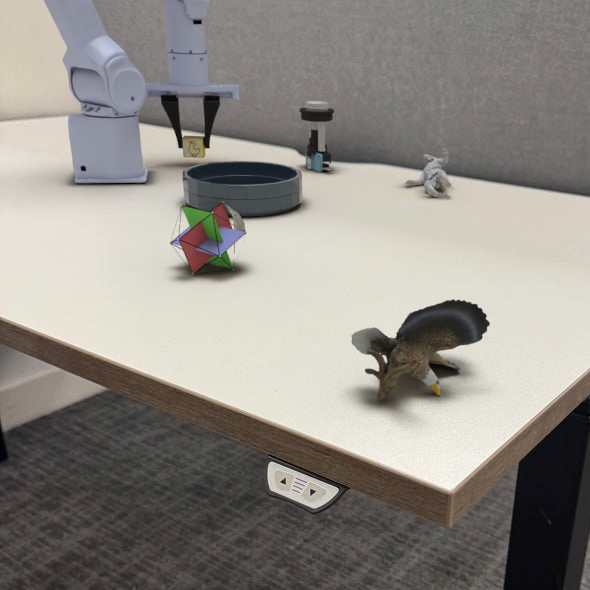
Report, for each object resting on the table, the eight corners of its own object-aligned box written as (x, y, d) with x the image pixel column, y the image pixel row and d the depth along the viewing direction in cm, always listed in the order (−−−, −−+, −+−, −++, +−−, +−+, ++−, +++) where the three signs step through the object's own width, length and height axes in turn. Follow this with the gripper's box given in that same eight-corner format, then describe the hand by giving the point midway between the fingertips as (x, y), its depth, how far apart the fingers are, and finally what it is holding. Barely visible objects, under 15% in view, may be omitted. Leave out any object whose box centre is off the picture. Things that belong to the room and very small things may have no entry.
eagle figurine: (446, 412, 52) (510, 348, 58) (391, 320, 51) (464, 263, 57) (374, 430, 58) (439, 370, 64) (323, 348, 56) (395, 294, 62)
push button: (344, 172, 124) (344, 105, 120) (314, 175, 122) (313, 106, 117) (323, 164, 129) (323, 99, 124) (294, 167, 126) (293, 100, 122)
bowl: (184, 219, 96) (181, 186, 94) (185, 190, 109) (182, 160, 107) (308, 217, 100) (308, 185, 98) (295, 189, 113) (294, 160, 111)
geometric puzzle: (195, 267, 74) (227, 190, 74) (143, 253, 77) (175, 178, 77) (239, 295, 80) (268, 223, 81) (190, 280, 83) (218, 211, 84)
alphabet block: (185, 154, 125) (184, 134, 124) (205, 155, 125) (204, 135, 124) (183, 158, 122) (181, 137, 121) (203, 158, 123) (202, 138, 121)
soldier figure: (409, 204, 112) (395, 161, 120) (430, 224, 115) (415, 180, 123) (452, 168, 109) (434, 126, 117) (472, 189, 112) (453, 147, 120)
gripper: (235, 52, 122) (240, 143, 128) (137, 49, 119) (147, 142, 125) (238, 55, 116) (242, 151, 122) (135, 52, 113) (144, 150, 119)
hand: (194, 147), depth 123 cm, fingers closed on alphabet block, 3 cm apart
